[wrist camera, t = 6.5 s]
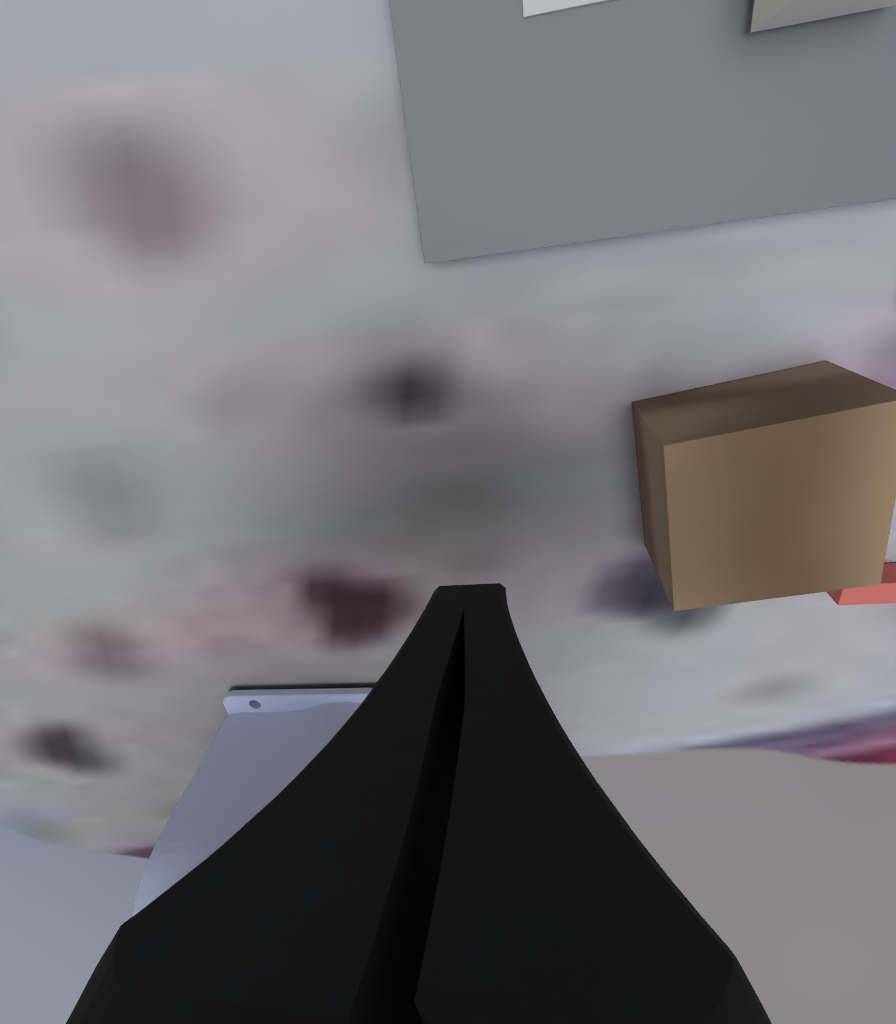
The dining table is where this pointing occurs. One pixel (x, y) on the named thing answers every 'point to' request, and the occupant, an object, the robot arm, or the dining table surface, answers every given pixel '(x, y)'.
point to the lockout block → (767, 485)
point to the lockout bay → (870, 590)
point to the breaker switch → (807, 11)
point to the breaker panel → (635, 117)
